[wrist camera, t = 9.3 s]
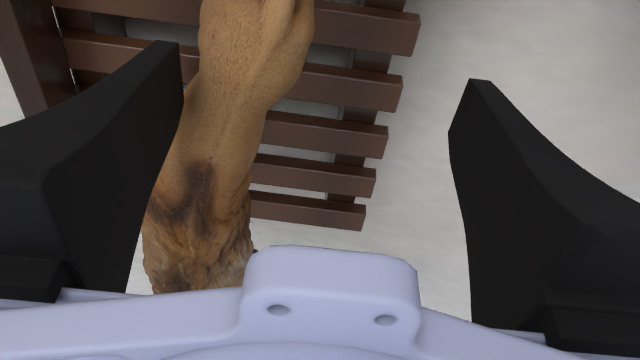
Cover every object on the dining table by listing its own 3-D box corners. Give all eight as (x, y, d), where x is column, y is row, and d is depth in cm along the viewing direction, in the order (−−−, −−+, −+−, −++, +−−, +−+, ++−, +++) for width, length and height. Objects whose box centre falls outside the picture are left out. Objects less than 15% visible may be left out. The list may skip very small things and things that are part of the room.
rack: (459, -190, 18) (488, -139, 14) (361, 185, 33) (359, 269, 28) (7, -262, 17) (-118, -233, 13) (112, 152, 32) (70, 233, 27)
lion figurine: (266, 195, 25) (272, 359, 19) (156, 184, 24) (120, 355, 17) (340, -137, 16) (405, -53, 10) (170, -182, 15) (105, -121, 8)
